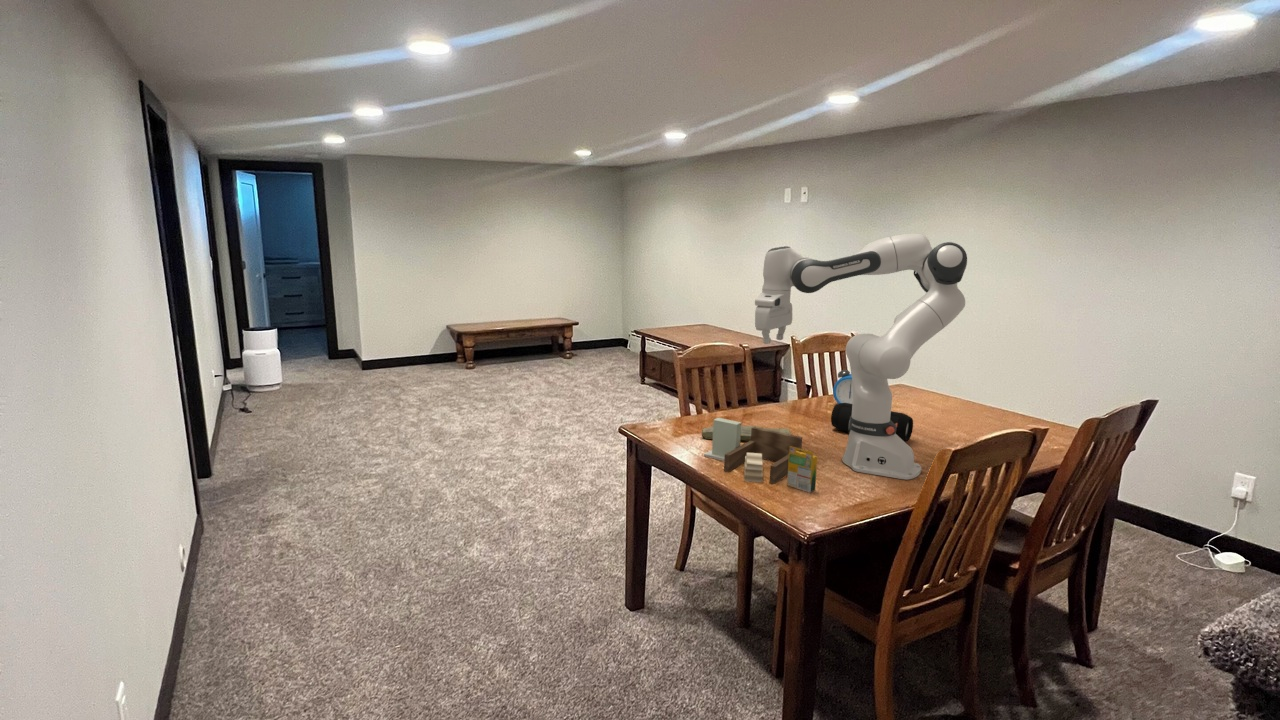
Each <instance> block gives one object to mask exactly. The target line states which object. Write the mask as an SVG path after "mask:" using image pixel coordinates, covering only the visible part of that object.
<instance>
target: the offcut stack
mask: <svg viewBox="0 0 1280 720" xmlns="http://www.w3.org/2000/svg"><path fill="white" fill-rule="evenodd" d="M763 467H764V466H763V459H762V454H761V453H747V455H746V456H745V462H744V468H743V470H744V480H743V481H744V482H750V483H751V482H753V483H763V482H764V481H763V478H764V476H763V475H764V474H763Z"/></svg>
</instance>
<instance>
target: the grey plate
mask: <svg viewBox="0 0 1280 720" xmlns="http://www.w3.org/2000/svg"><path fill="white" fill-rule="evenodd" d="M705 456H706V457H705ZM703 457H705V458H709V457H710V459H713V458H714V459H713V460H718V461H722V462H724V458H725V457H723V456H718V455H714V454H712V449H711V450H709V451H706V452H705V453H703Z"/></svg>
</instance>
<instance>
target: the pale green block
mask: <svg viewBox="0 0 1280 720" xmlns="http://www.w3.org/2000/svg"><path fill="white" fill-rule="evenodd" d="M712 426H713V440H711V441H712V442H711V443H712V444H711V450H712V454H714V455H718V456H723V457H725V454H726V453H728V452H730V451H732V450H734V449H736V448H738V447H739V446H741V440H740V438H741V426H742V422H740V421H736V420H732V419H731V420H730V419H728V418H727V419H726V418H722V417H716V418H715V419H713V422H712Z"/></svg>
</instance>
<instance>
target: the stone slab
mask: <svg viewBox="0 0 1280 720" xmlns="http://www.w3.org/2000/svg"><path fill="white" fill-rule="evenodd" d="M753 427H756V428H761V429H766V430H771V431H775V432H780V433H785V434H789V435H792V433H791V430H790V429H789V428H785V427H784V428H783V427H781V428H767V427H762V426H756V425H741V438H740V441H745V442H749V441H751V428H753ZM701 435H703V436H702V437H704V438H705V439H706V440H709V439H713V425H711V426H709V427H705V428H702V429H701Z"/></svg>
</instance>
